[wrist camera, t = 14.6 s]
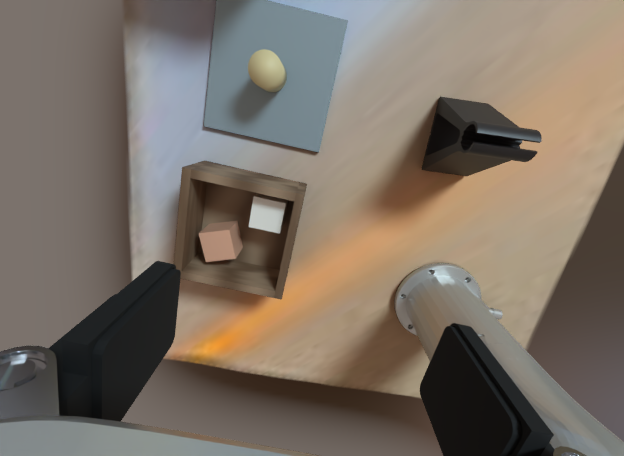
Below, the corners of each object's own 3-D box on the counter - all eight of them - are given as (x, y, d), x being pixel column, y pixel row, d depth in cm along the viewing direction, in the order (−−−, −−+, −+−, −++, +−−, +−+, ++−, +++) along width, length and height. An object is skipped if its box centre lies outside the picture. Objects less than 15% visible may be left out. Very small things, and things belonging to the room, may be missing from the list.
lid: (346, 23, 36) (352, 3, 30) (318, 151, 41) (318, 155, 35) (220, -8, 35) (201, -35, 29) (207, 126, 40) (187, 126, 34)
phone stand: (439, 96, 38) (491, 83, 26) (486, 104, 38) (559, 94, 26) (420, 169, 41) (460, 186, 29) (465, 175, 41) (521, 195, 29)
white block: (288, 196, 41) (285, 203, 37) (283, 224, 42) (279, 233, 38) (259, 189, 41) (253, 196, 37) (254, 217, 42) (248, 226, 38)
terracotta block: (237, 220, 42) (229, 229, 38) (243, 247, 43) (235, 258, 40) (209, 223, 42) (198, 233, 39) (215, 250, 44) (205, 262, 40)
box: (306, 184, 41) (304, 194, 35) (286, 274, 46) (281, 299, 39) (204, 160, 41) (182, 167, 34) (194, 254, 45) (172, 276, 38)
